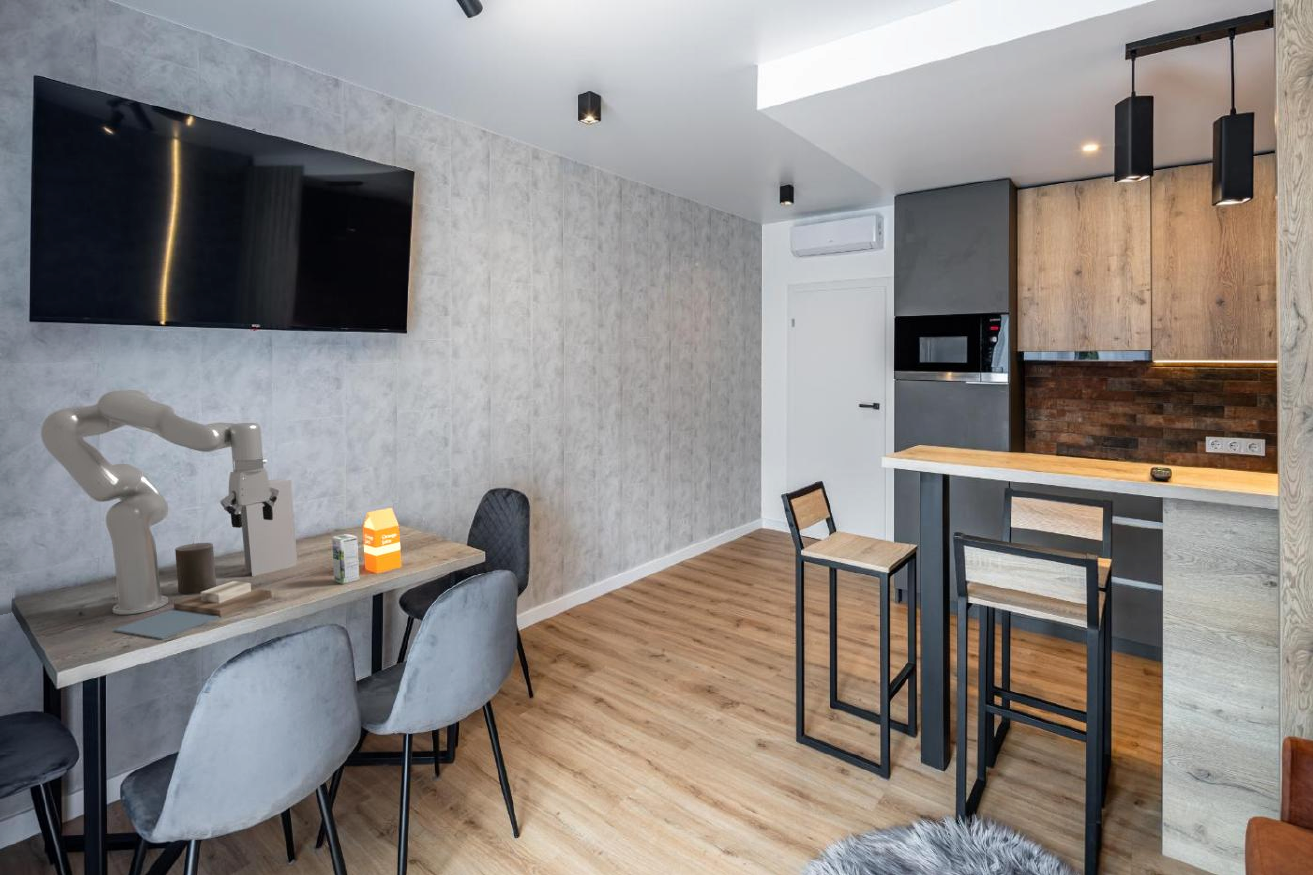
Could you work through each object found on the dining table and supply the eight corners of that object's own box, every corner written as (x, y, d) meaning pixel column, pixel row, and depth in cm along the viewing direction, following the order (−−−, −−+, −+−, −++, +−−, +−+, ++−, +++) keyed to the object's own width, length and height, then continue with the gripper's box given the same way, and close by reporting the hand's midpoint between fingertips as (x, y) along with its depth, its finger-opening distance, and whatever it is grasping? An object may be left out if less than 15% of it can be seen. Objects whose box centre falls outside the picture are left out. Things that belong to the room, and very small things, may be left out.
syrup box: (333, 581, 209) (330, 536, 208) (351, 576, 214) (348, 532, 212) (342, 584, 206) (339, 539, 204) (360, 579, 210) (357, 535, 209)
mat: (114, 631, 171) (113, 629, 171) (172, 610, 186) (172, 609, 186) (162, 639, 166) (162, 637, 166) (218, 617, 180) (218, 616, 180)
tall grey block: (291, 562, 230) (284, 478, 227) (297, 565, 226) (291, 480, 223) (245, 573, 219) (238, 484, 216) (252, 576, 216) (244, 486, 212)
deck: (174, 610, 186) (173, 603, 186) (227, 591, 201) (226, 585, 201) (220, 617, 180) (219, 610, 180) (271, 597, 195) (271, 590, 195)
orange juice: (365, 569, 221) (361, 511, 219) (389, 562, 228) (386, 506, 226) (377, 573, 217) (373, 514, 214) (401, 566, 223) (398, 509, 221)
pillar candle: (197, 595, 198) (193, 547, 196) (170, 593, 200) (166, 545, 198) (224, 585, 207) (220, 538, 206) (198, 583, 209) (194, 537, 208)
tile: (201, 600, 188) (200, 592, 188) (233, 589, 197) (233, 581, 197) (219, 603, 186) (218, 594, 185) (251, 591, 195) (250, 583, 195)
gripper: (266, 460, 200) (270, 516, 201) (209, 469, 184) (215, 529, 185) (284, 461, 197) (288, 517, 199) (228, 470, 181) (233, 531, 183)
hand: (253, 523), depth 192 cm, fingers open, 9 cm apart
